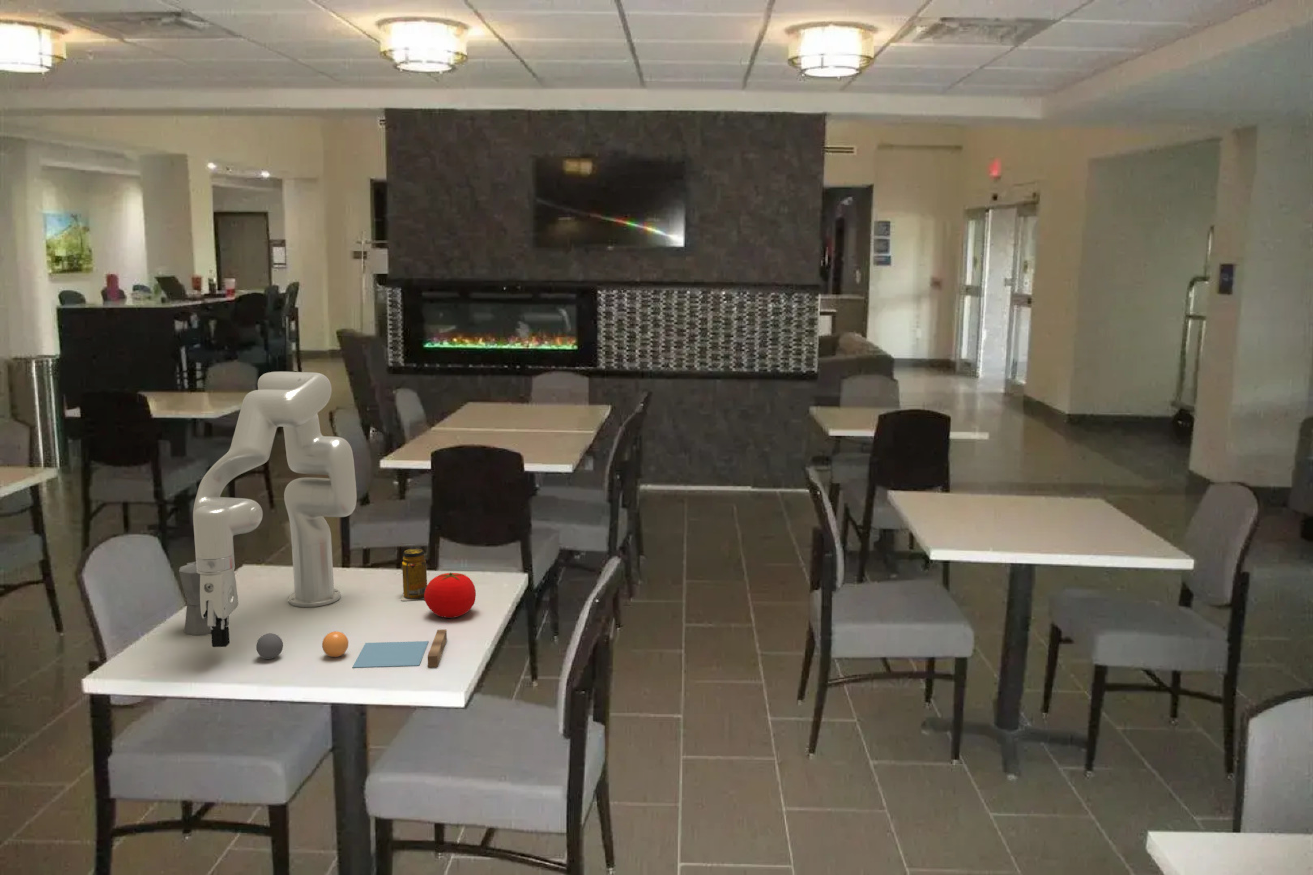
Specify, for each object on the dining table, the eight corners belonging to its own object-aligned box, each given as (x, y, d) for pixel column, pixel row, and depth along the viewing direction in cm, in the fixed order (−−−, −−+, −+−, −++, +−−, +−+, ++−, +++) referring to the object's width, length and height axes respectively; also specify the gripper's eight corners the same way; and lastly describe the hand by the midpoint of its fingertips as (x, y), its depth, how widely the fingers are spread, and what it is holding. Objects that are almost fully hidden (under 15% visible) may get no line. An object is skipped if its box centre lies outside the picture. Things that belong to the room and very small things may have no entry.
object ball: (326, 651, 229) (324, 628, 228) (351, 651, 229) (350, 627, 228) (320, 661, 224) (318, 637, 223) (346, 660, 224) (344, 636, 223)
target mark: (365, 643, 234) (365, 642, 234) (428, 641, 235) (428, 641, 235) (352, 667, 220) (352, 667, 220) (419, 665, 221) (419, 665, 221)
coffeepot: (174, 626, 245) (168, 552, 242) (214, 616, 251) (209, 545, 248) (198, 643, 234) (191, 567, 231) (239, 633, 240) (234, 558, 237)
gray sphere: (261, 653, 228) (259, 629, 227) (286, 652, 228) (285, 629, 227) (253, 663, 223) (251, 638, 222) (279, 662, 223) (278, 638, 222)
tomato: (467, 624, 246) (466, 581, 244) (418, 621, 248) (416, 579, 246) (482, 608, 257) (481, 567, 255) (435, 605, 259) (434, 565, 257)
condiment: (403, 592, 270) (401, 548, 268) (436, 590, 271) (434, 546, 269) (401, 601, 263) (398, 556, 260) (435, 599, 264) (433, 554, 262)
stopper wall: (437, 640, 236) (437, 629, 236) (446, 639, 236) (446, 629, 236) (428, 667, 220) (427, 656, 220) (437, 667, 220) (437, 656, 220)
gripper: (221, 573, 214) (227, 657, 217) (244, 553, 229) (249, 633, 231) (184, 573, 213) (190, 658, 216) (209, 554, 228) (215, 634, 231)
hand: (220, 645), depth 224 cm, fingers closed
